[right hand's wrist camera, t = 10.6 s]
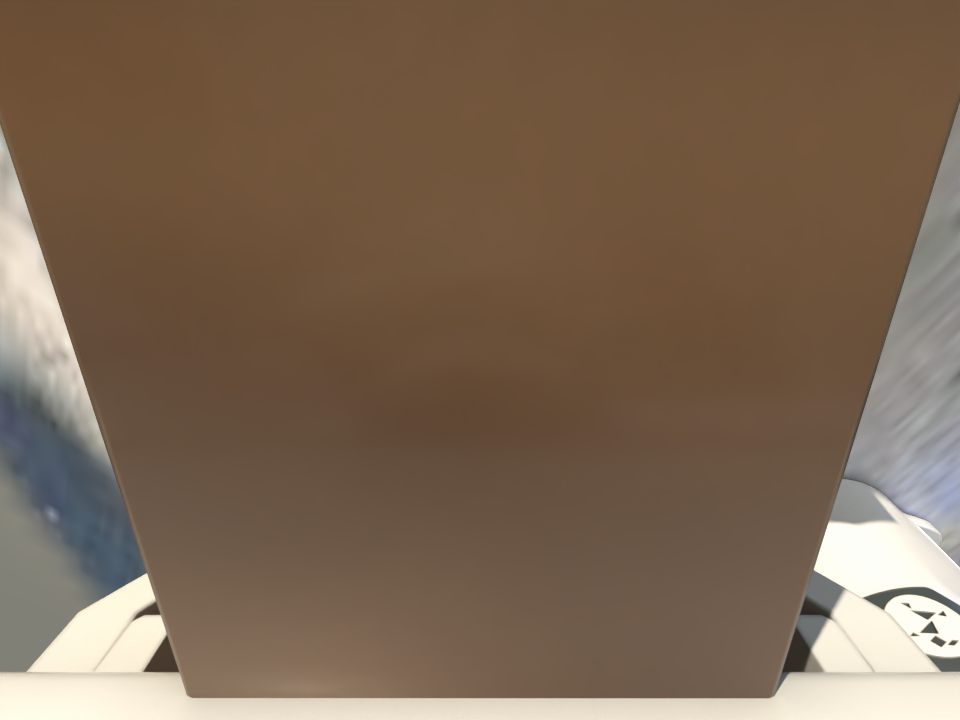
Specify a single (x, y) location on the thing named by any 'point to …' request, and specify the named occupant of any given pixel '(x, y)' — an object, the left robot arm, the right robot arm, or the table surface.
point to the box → (478, 318)
